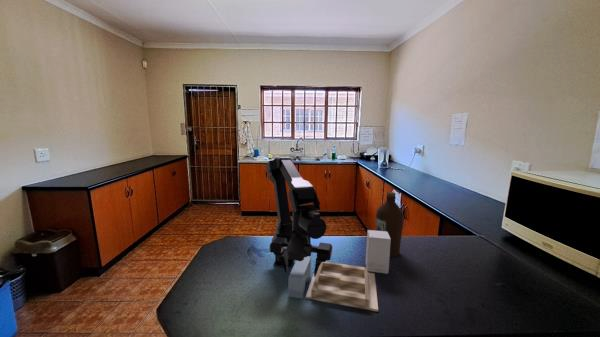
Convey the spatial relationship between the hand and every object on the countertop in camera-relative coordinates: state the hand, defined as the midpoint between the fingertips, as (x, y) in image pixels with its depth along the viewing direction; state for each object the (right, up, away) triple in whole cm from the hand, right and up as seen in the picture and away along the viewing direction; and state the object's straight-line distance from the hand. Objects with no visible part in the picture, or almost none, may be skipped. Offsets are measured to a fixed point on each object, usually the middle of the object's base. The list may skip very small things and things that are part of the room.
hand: (300, 273), depth 75 cm
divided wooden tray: (+13, -4, +1) cm, 14 cm away
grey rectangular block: (0, -4, 0) cm, 4 cm away
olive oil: (+36, -2, +24) cm, 43 cm away
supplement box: (+28, -3, +12) cm, 30 cm away
